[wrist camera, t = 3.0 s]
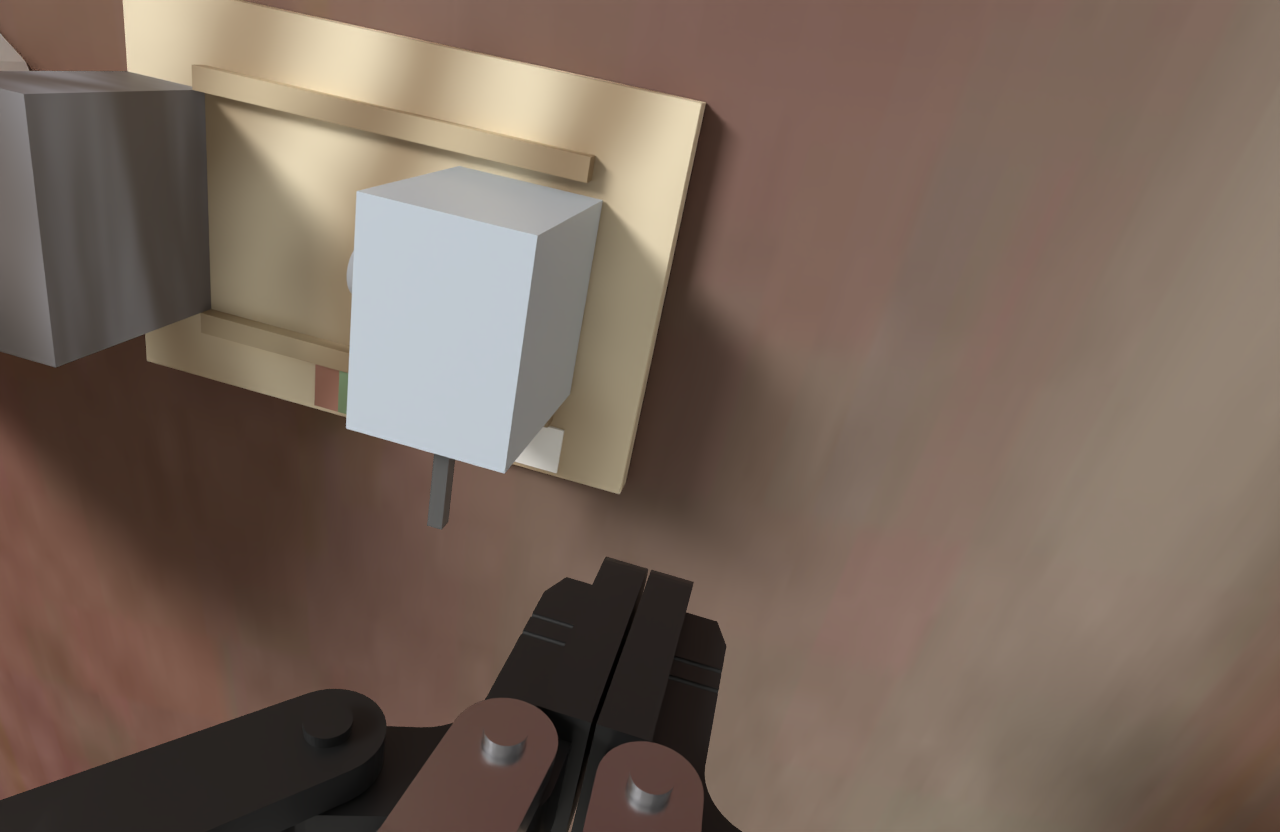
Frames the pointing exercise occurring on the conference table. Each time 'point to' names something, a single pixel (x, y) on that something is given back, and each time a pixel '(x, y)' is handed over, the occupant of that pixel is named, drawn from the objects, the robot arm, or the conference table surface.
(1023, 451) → the conference table surface
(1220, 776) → the conference table surface
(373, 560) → the conference table surface
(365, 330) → the block
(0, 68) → the container
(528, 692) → the robot arm
